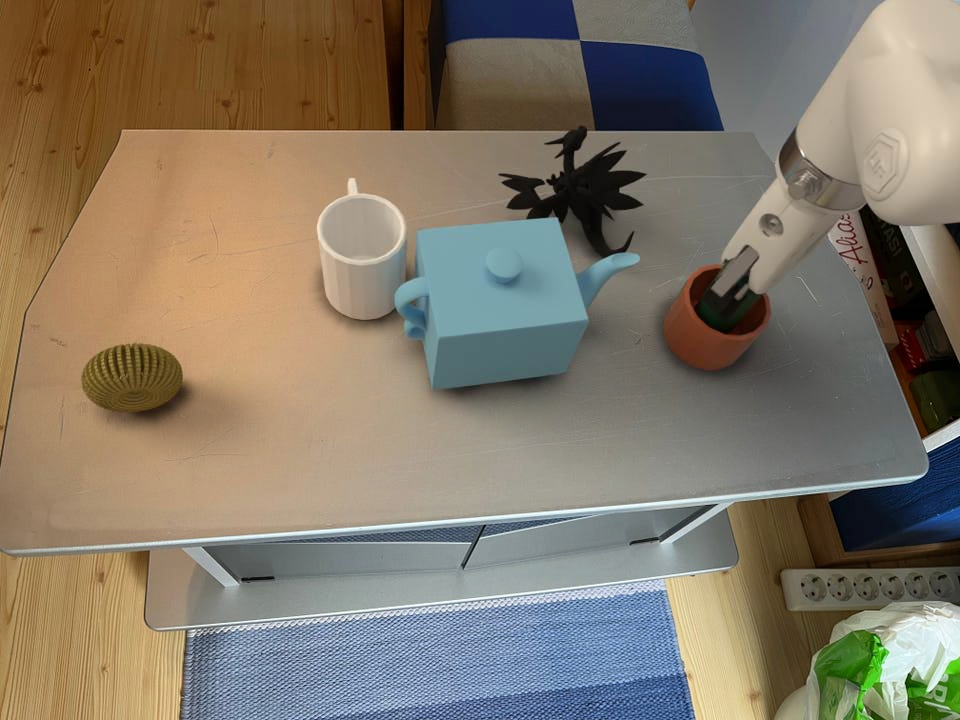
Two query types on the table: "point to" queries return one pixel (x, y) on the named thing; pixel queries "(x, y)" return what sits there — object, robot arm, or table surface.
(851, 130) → the robot arm
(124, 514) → the table surface
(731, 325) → the bottle
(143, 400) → the sculpture
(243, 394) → the table surface
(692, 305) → the cup
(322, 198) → the table surface
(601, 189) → the figurine
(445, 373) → the teapot
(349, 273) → the mug
